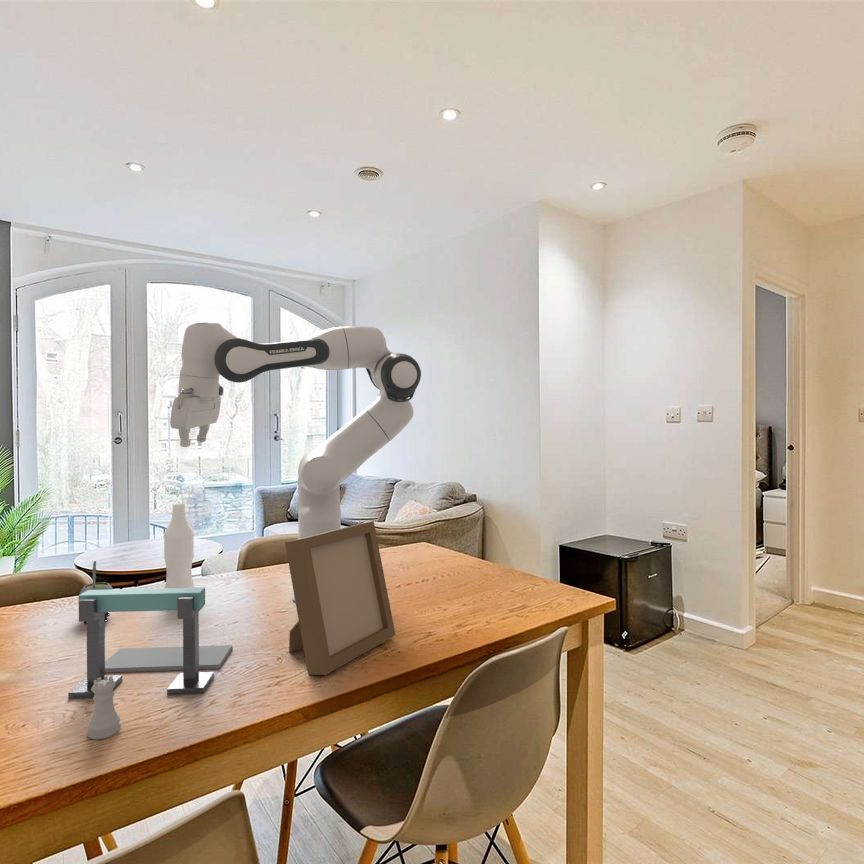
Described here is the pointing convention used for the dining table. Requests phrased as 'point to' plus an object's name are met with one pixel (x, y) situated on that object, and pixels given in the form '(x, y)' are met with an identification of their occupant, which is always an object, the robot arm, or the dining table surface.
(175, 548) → the water bottle
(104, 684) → the rook chess piece
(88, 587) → the mate gourd
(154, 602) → the rail
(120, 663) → the mat
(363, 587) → the photo frame
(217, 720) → the dining table surface
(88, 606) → the forked support stand
